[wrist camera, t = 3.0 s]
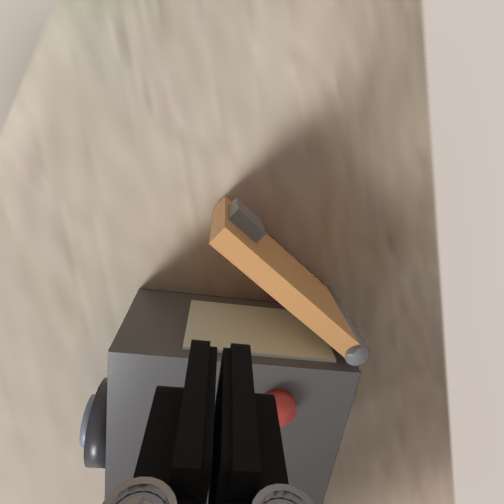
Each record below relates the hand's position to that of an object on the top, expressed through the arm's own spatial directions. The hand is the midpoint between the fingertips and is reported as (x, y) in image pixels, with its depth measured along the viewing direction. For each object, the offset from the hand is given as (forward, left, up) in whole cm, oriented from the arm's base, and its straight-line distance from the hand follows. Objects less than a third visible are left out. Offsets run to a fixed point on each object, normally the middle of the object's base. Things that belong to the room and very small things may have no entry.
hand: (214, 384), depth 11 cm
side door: (+1, -3, -11) cm, 11 cm away
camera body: (-8, -1, -11) cm, 13 cm away
